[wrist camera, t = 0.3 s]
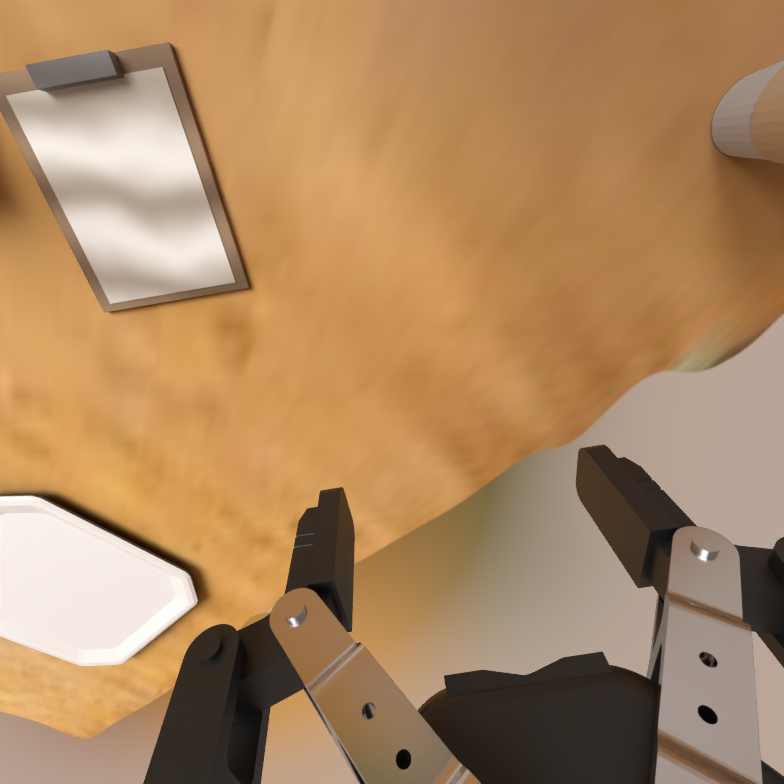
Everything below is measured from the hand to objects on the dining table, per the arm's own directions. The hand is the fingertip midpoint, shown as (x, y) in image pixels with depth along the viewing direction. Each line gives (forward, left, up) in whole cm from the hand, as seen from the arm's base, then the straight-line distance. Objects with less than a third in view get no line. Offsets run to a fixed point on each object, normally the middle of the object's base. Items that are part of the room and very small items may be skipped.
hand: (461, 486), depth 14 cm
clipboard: (-11, -21, -29) cm, 37 cm away
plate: (+33, -51, -29) cm, 68 cm away
